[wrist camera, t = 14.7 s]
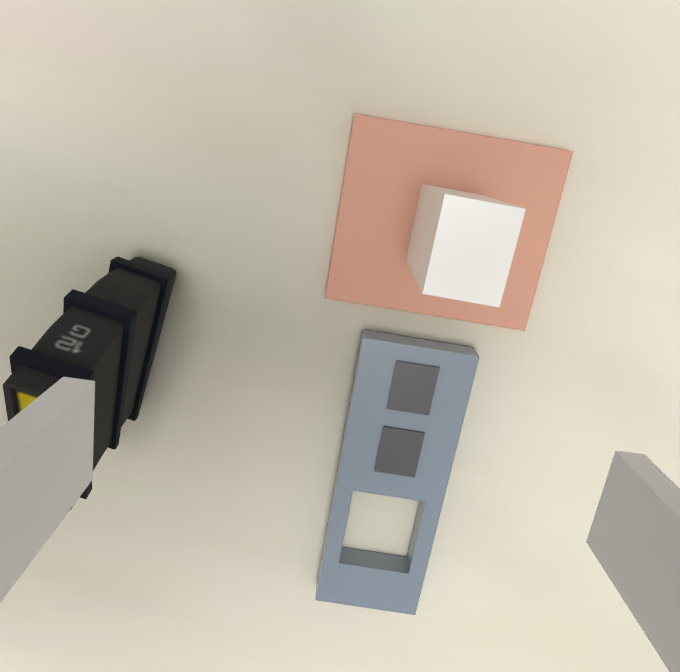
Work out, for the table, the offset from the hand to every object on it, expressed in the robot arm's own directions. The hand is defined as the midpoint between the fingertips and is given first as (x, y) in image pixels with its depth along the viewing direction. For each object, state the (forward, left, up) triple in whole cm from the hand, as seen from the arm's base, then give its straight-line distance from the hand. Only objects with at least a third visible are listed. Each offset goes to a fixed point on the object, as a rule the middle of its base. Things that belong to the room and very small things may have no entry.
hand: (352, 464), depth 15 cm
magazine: (-15, -8, -27) cm, 32 cm away
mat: (+5, +4, -27) cm, 28 cm away
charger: (+5, +4, -26) cm, 27 cm away
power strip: (+5, -15, -27) cm, 31 cm away
